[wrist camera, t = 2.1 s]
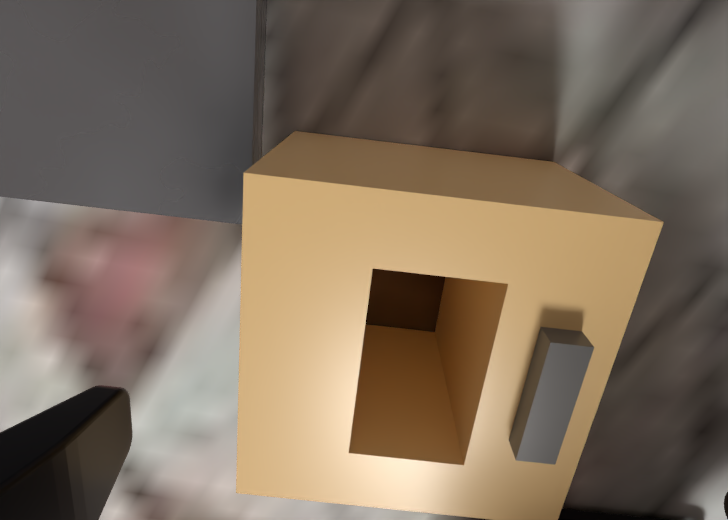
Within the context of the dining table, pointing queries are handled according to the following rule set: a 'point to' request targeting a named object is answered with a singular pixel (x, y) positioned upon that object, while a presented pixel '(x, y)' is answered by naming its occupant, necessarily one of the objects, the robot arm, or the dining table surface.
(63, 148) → the hub plate
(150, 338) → the dining table surface
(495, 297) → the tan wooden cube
